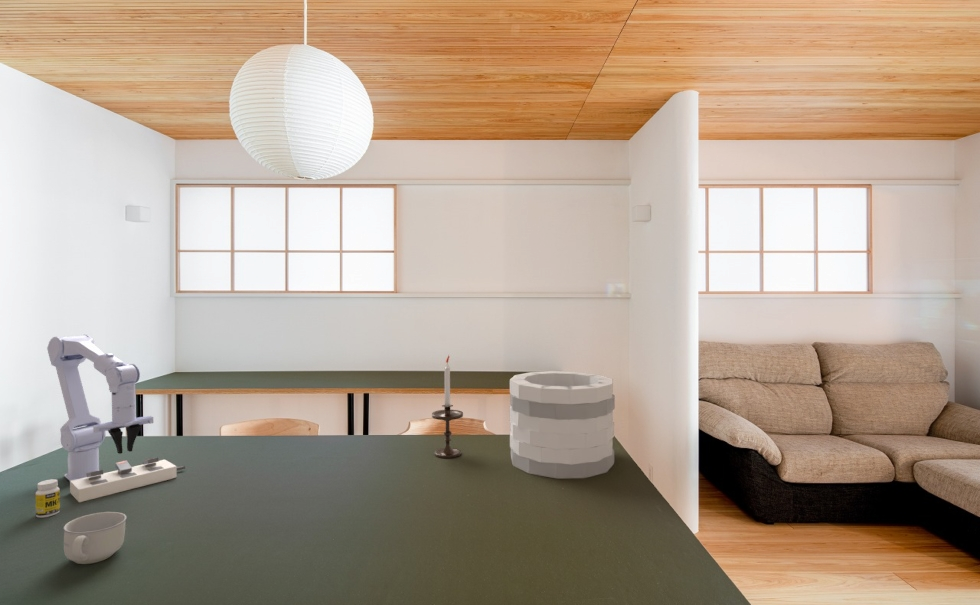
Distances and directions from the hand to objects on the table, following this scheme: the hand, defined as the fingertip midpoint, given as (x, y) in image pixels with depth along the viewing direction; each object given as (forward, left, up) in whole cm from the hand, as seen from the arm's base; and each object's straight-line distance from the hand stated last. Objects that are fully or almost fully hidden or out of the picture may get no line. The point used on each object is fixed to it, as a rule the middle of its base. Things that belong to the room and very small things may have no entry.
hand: (124, 451), depth 152 cm
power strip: (0, +2, -10) cm, 10 cm away
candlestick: (+54, +81, -10) cm, 98 cm away
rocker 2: (-1, 0, -5) cm, 5 cm away
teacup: (+45, -18, -10) cm, 50 cm away
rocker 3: (-1, +7, -5) cm, 9 cm away
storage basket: (+88, +101, -10) cm, 134 cm away
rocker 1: (-1, -7, -5) cm, 9 cm away
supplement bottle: (+8, -19, -10) cm, 23 cm away
